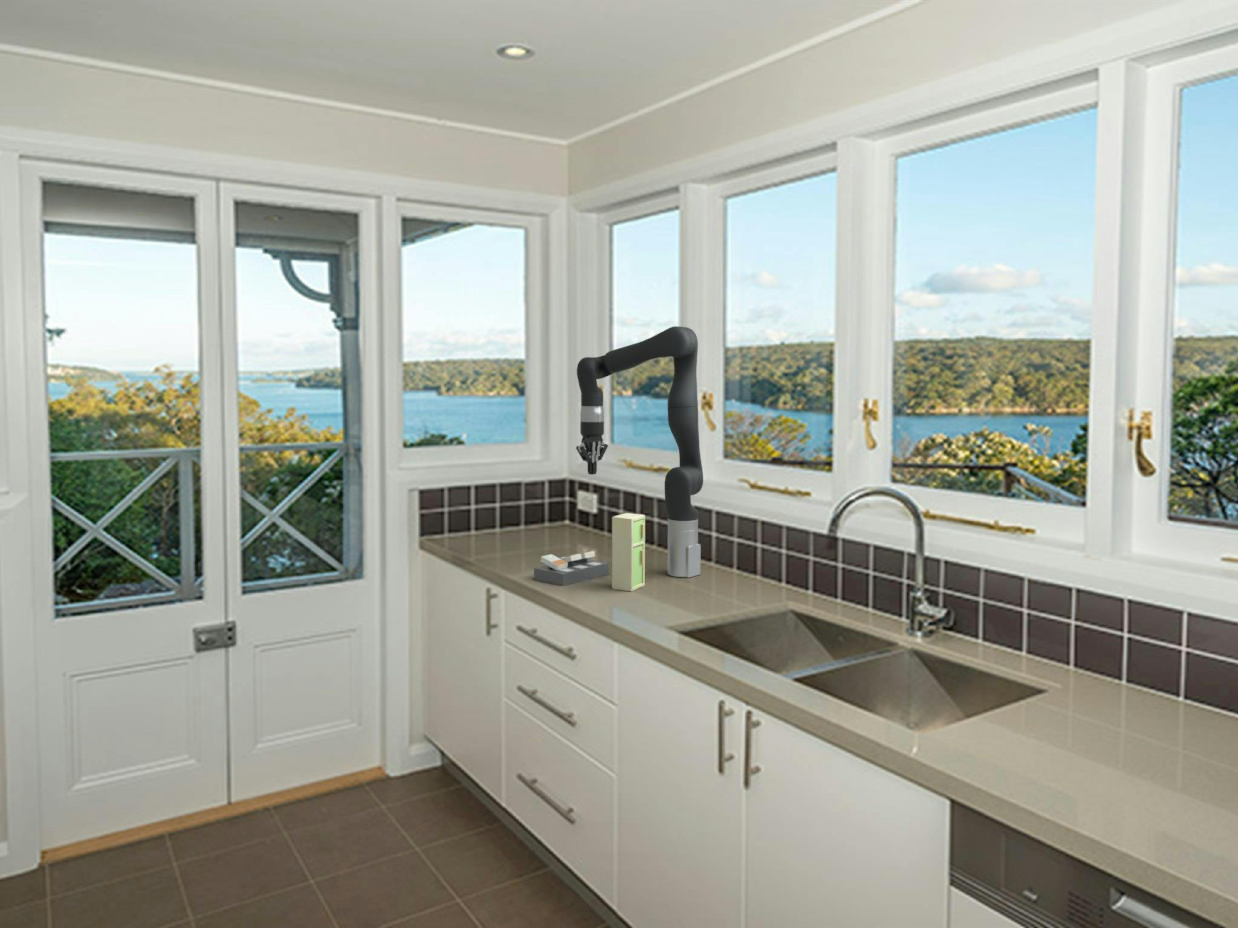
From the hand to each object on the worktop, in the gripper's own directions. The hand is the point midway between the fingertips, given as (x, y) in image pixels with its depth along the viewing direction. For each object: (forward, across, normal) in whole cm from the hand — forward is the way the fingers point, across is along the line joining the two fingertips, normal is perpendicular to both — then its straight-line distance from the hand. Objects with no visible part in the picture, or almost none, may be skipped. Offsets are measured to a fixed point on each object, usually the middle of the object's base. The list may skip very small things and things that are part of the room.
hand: (592, 474), depth 301 cm
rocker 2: (+24, -13, -8) cm, 28 cm away
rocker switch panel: (+29, -17, -9) cm, 35 cm away
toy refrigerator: (+29, -18, -31) cm, 46 cm away
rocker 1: (+24, -25, -8) cm, 35 cm away
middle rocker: (+24, -19, -8) cm, 31 cm away
